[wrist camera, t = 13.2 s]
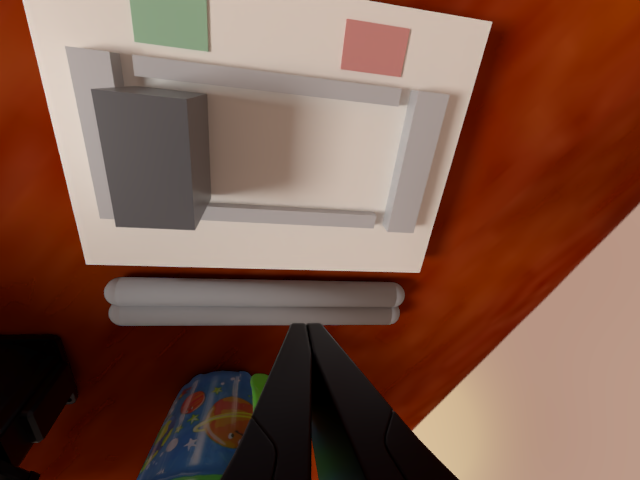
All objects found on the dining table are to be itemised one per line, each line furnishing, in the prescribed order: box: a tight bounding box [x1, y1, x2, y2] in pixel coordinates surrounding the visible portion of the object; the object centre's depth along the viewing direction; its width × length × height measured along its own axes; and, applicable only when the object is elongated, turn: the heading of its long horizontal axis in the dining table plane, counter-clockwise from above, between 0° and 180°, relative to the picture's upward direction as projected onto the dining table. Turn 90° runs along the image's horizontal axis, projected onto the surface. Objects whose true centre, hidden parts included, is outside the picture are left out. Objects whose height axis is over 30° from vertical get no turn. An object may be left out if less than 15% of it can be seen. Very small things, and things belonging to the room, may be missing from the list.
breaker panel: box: [23, 0, 492, 273], centre depth 17 cm, size 20×14×3 cm
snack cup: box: [137, 371, 269, 480], centre depth 23 cm, size 16×10×10 cm
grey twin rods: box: [104, 277, 405, 326], centre depth 18 cm, size 20×24×2 cm
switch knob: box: [91, 86, 211, 230], centre depth 14 cm, size 3×5×4 cm, turn 173°
